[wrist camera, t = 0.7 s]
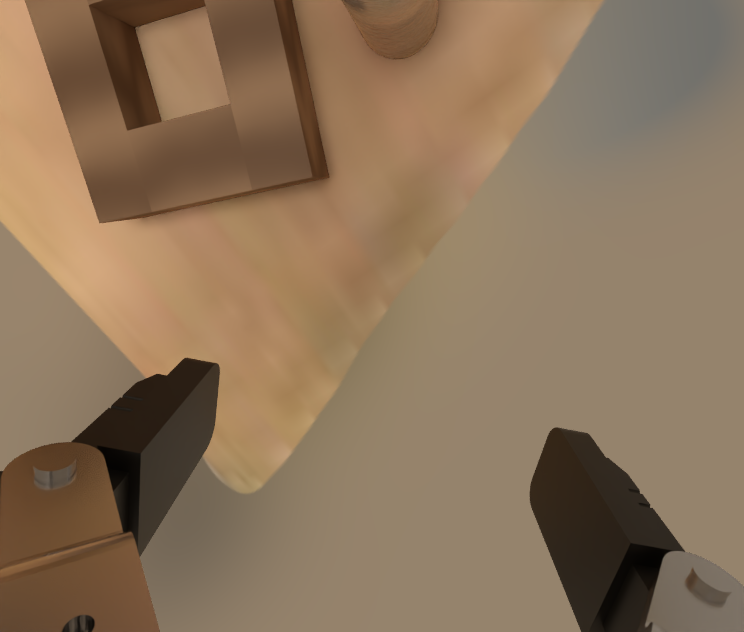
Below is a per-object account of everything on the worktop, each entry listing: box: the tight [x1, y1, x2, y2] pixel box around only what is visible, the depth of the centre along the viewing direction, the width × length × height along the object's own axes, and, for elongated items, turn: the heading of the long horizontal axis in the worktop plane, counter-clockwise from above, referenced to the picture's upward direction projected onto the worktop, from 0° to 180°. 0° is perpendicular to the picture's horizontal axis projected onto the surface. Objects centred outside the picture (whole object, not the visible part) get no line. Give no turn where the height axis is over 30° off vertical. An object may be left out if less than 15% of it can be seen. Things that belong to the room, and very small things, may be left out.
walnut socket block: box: [25, 0, 329, 223], centre depth 28 cm, size 16×14×4 cm
